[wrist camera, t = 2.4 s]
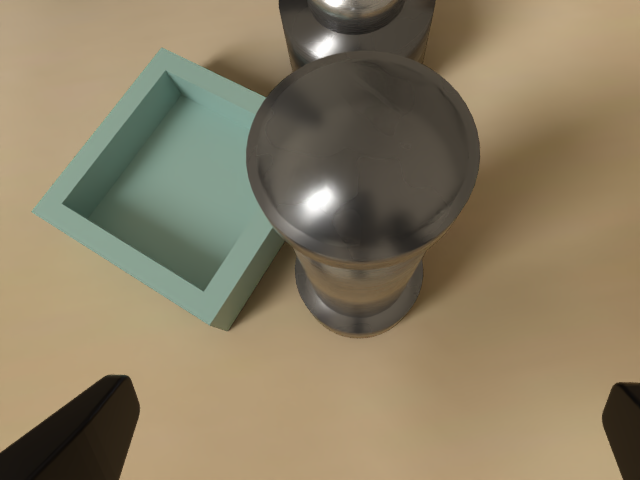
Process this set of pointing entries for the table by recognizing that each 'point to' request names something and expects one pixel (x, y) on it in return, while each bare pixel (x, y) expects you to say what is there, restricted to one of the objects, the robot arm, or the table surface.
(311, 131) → the grey cylindrical piece
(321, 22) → the calibration weight
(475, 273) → the table surface
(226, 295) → the tray
